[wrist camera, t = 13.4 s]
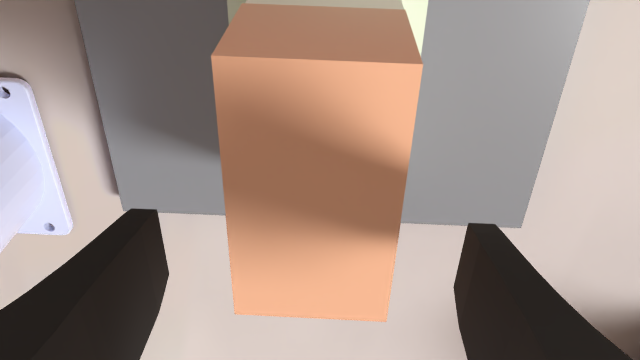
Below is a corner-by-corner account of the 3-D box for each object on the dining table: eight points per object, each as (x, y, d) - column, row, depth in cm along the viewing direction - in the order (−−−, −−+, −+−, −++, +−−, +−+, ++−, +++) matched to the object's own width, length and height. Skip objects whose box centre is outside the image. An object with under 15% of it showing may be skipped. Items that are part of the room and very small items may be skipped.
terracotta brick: (254, 228, 19) (234, 314, 16) (242, 3, 15) (211, 55, 11) (379, 234, 19) (386, 321, 16) (405, 9, 14) (423, 63, 11)
